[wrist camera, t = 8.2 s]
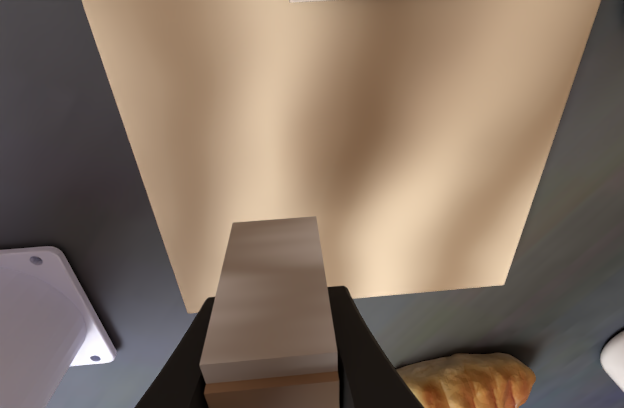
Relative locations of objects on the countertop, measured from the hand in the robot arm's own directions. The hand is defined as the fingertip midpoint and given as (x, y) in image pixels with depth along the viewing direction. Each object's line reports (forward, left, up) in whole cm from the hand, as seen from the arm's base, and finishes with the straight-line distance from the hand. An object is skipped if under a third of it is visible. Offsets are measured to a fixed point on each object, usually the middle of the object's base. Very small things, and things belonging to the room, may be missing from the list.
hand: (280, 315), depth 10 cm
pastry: (+10, -15, -7) cm, 19 cm away
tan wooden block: (0, 0, -2) cm, 2 cm away
